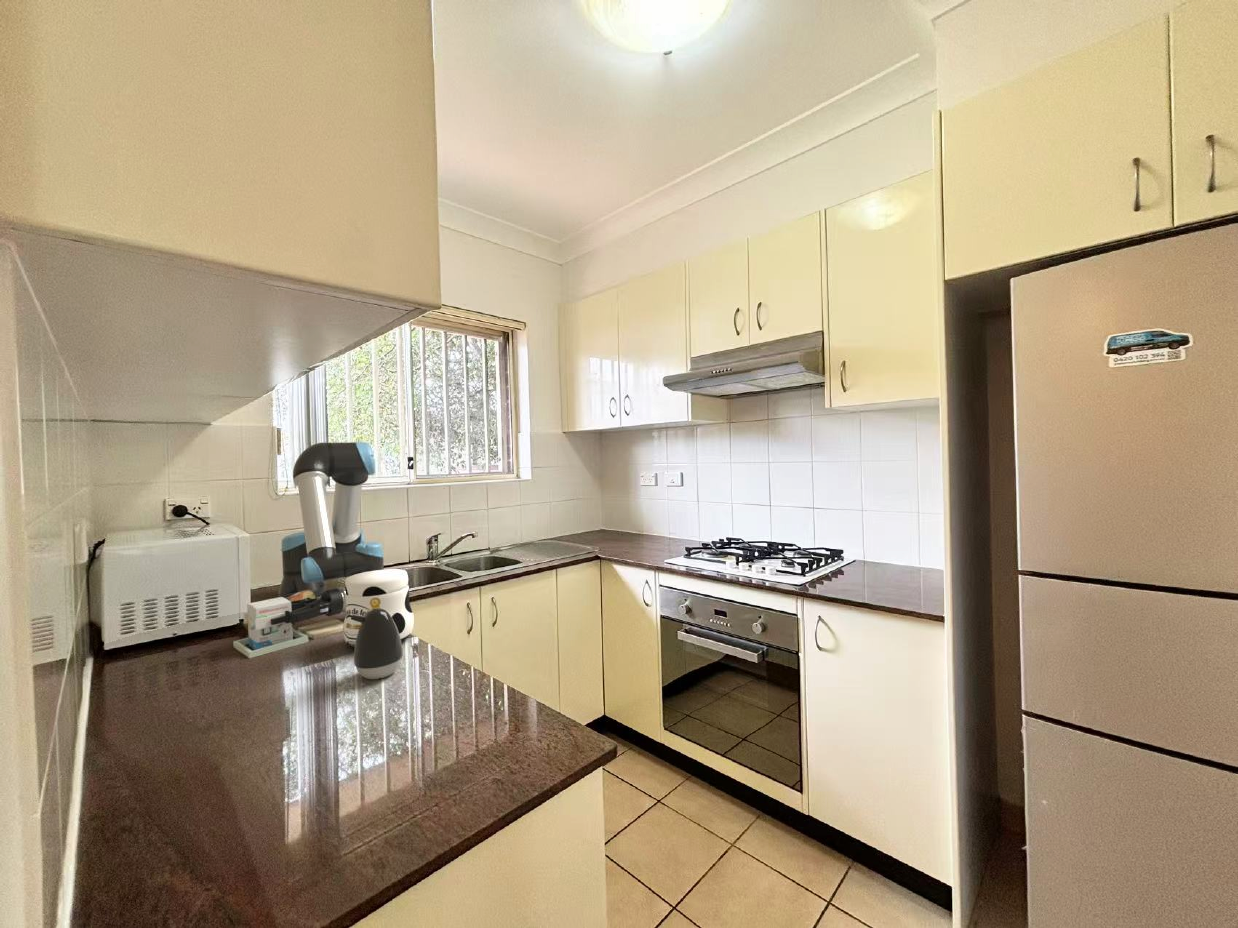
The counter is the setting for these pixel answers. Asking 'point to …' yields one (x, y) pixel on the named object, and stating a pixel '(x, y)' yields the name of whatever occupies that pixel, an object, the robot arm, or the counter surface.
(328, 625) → the pad
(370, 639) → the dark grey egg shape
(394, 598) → the milk container
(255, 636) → the ink box
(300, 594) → the tin
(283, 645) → the tray
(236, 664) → the counter surface
